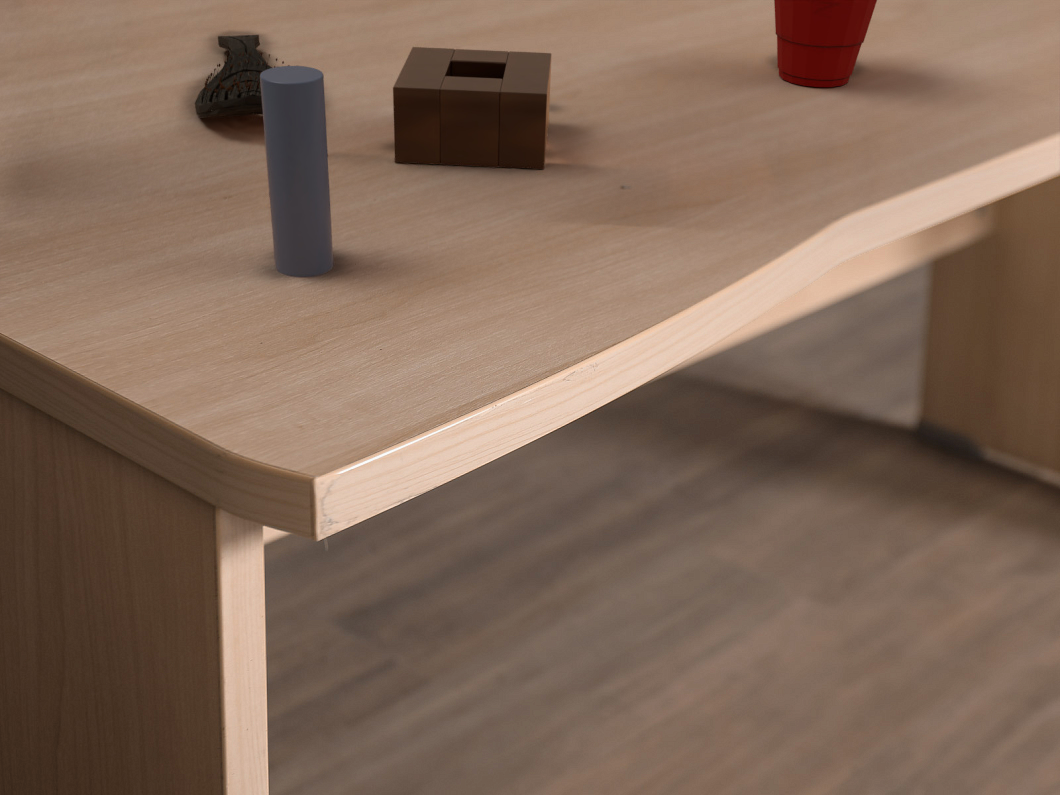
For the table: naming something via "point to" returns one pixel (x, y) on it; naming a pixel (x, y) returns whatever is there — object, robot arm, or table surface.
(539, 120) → the holder
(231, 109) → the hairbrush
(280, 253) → the handle
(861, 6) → the plastic cup
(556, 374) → the table surface
